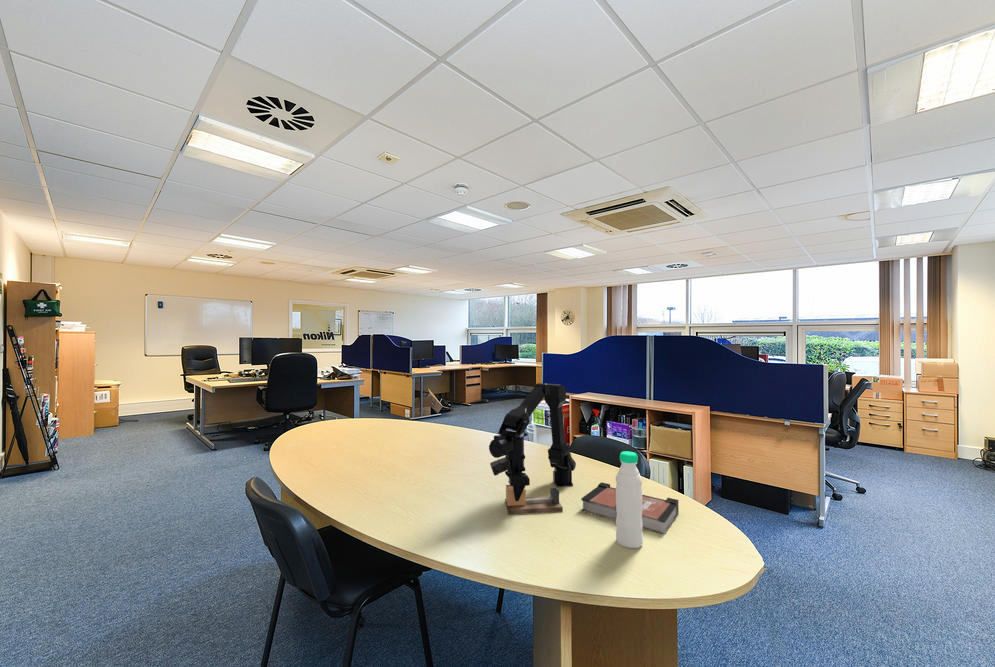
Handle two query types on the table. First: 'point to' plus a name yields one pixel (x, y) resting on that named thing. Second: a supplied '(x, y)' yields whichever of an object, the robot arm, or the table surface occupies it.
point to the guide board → (534, 507)
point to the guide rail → (553, 498)
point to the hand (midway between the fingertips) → (515, 497)
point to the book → (653, 509)
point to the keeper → (511, 498)
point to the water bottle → (629, 502)
